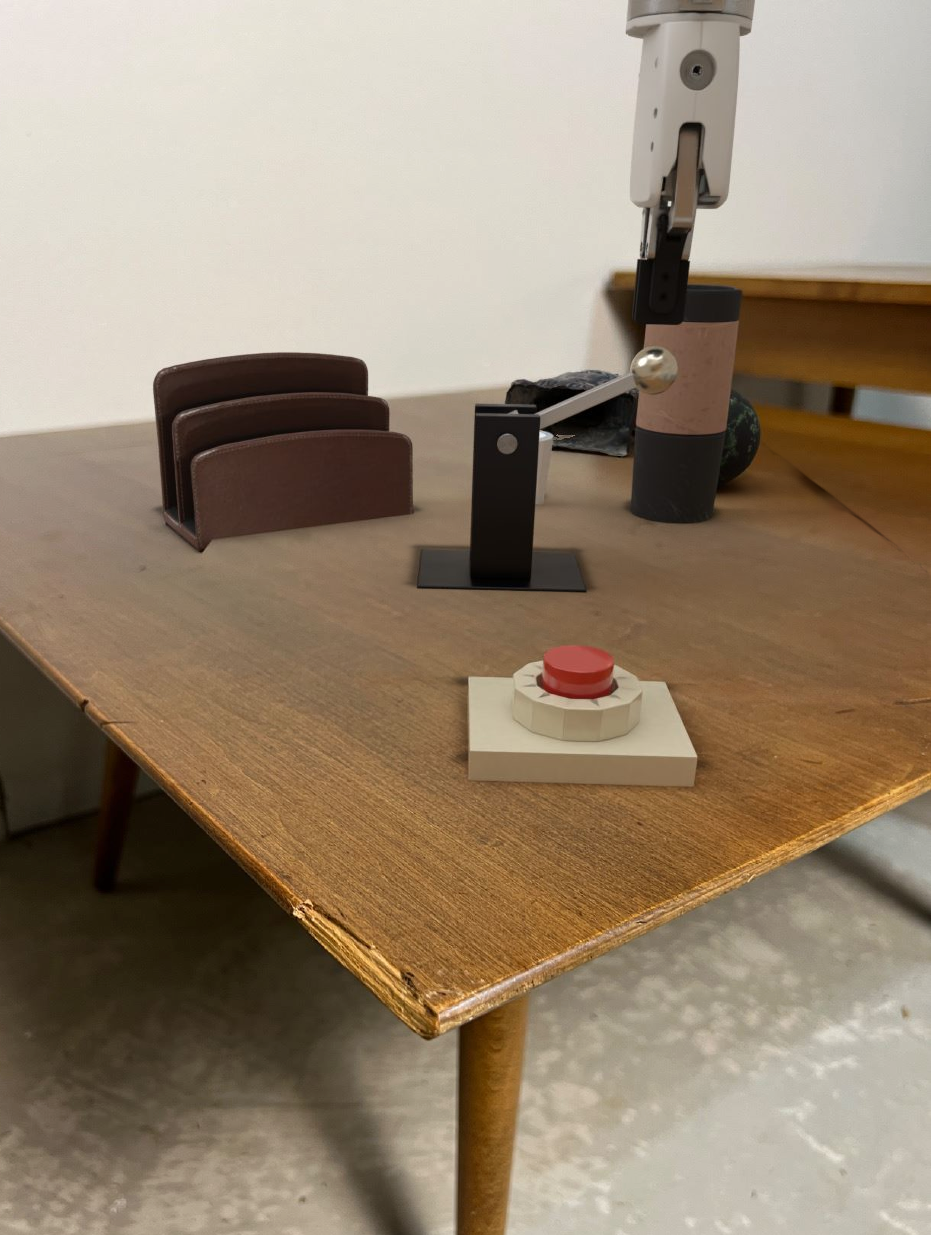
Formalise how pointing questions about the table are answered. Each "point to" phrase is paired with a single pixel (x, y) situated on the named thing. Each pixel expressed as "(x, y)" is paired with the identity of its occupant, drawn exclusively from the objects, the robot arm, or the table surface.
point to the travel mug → (687, 411)
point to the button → (577, 672)
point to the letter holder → (275, 446)
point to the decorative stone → (739, 438)
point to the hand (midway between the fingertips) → (656, 322)
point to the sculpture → (591, 427)
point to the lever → (620, 385)
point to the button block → (576, 733)
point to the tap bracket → (502, 515)
